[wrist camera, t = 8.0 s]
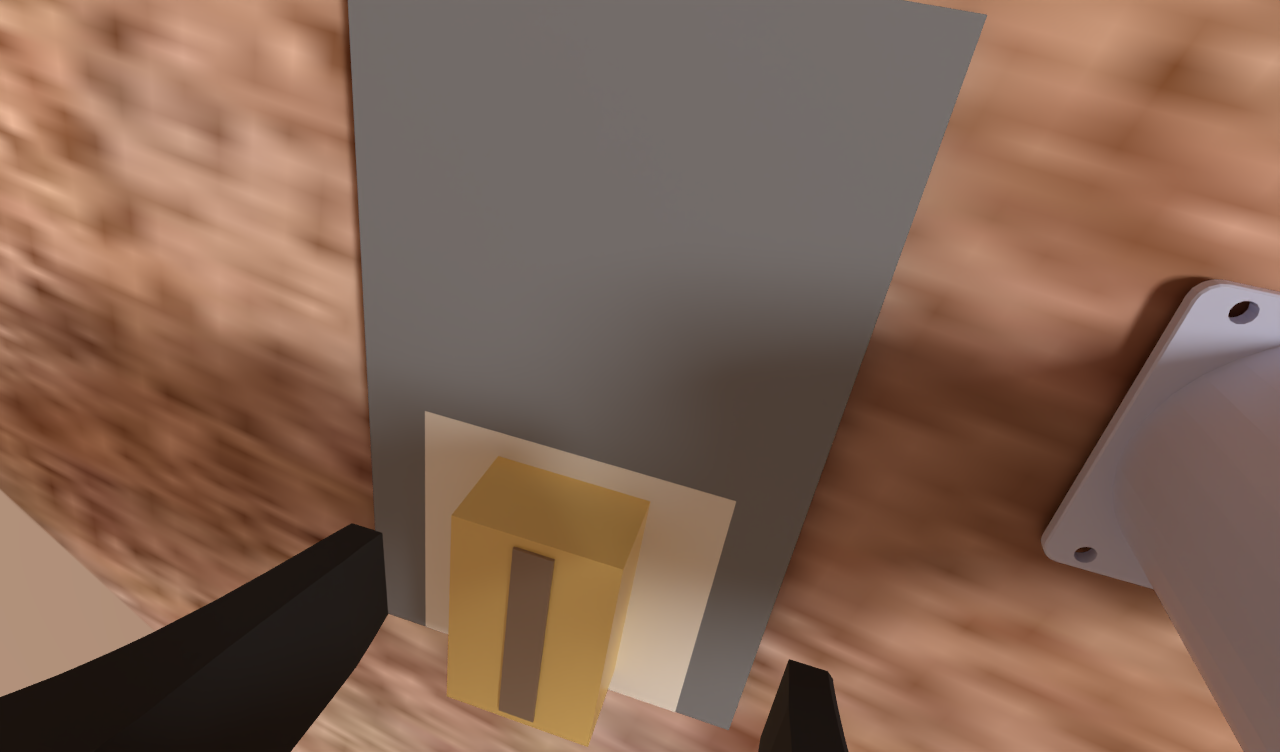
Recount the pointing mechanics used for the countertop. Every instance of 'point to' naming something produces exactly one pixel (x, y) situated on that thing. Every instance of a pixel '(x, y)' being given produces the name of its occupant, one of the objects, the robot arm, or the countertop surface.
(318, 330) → the countertop surface
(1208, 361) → the robot arm
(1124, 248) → the countertop surface
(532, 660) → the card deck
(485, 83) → the mat
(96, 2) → the countertop surface
